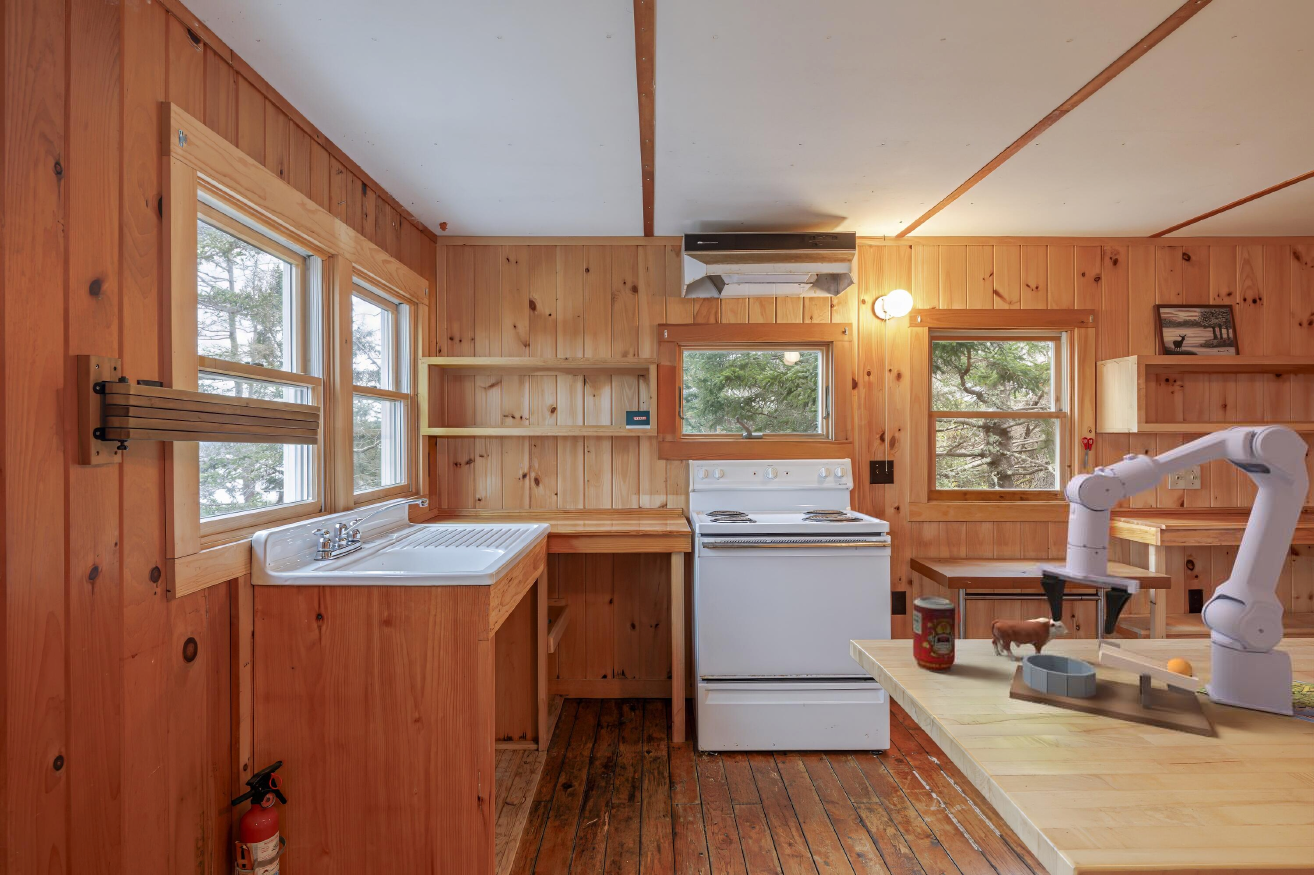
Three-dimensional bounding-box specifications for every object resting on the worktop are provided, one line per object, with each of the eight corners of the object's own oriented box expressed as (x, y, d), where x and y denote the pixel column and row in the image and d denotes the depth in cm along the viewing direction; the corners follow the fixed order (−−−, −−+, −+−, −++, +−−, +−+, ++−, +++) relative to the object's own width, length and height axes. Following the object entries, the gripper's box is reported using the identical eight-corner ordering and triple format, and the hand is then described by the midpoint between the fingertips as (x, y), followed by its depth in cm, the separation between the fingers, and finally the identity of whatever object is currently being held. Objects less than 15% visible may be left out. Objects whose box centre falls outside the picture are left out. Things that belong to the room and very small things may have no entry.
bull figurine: (1071, 665, 121) (1071, 621, 121) (992, 659, 124) (993, 616, 124) (1061, 657, 125) (1062, 614, 125) (986, 652, 128) (986, 610, 128)
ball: (1187, 678, 100) (1193, 660, 100) (1190, 685, 97) (1196, 666, 97) (1163, 670, 102) (1169, 652, 101) (1165, 676, 99) (1171, 658, 99)
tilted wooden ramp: (1183, 673, 107) (1187, 656, 107) (1194, 700, 96) (1199, 680, 96) (1096, 647, 114) (1100, 631, 114) (1097, 670, 103) (1102, 651, 103)
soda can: (929, 675, 115) (930, 605, 115) (905, 662, 122) (905, 596, 122) (963, 671, 117) (964, 603, 117) (937, 659, 124) (937, 594, 124)
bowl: (1095, 682, 109) (1095, 661, 109) (1095, 702, 101) (1096, 680, 101) (1025, 670, 115) (1025, 650, 115) (1020, 688, 107) (1020, 667, 107)
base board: (1196, 701, 104) (1196, 663, 104) (1211, 737, 92) (1211, 694, 92) (1017, 670, 118) (1017, 637, 118) (1009, 697, 105) (1009, 660, 105)
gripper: (1031, 540, 112) (1026, 618, 112) (1132, 555, 101) (1126, 643, 101) (1047, 537, 117) (1042, 613, 117) (1145, 552, 105) (1140, 636, 106)
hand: (1082, 626), depth 109 cm, fingers open, 7 cm apart
